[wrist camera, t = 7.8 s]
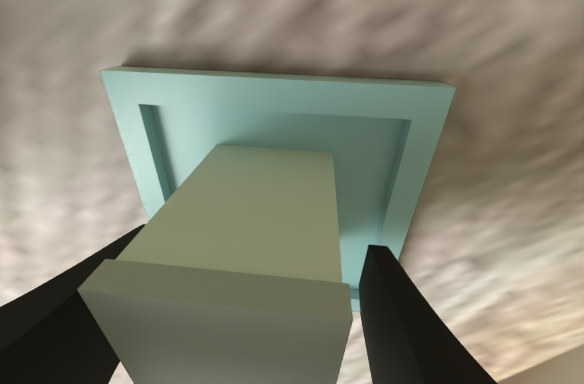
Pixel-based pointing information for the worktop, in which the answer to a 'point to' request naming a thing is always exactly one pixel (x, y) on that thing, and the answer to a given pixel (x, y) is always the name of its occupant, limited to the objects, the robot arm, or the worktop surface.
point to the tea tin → (232, 276)
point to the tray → (289, 138)
